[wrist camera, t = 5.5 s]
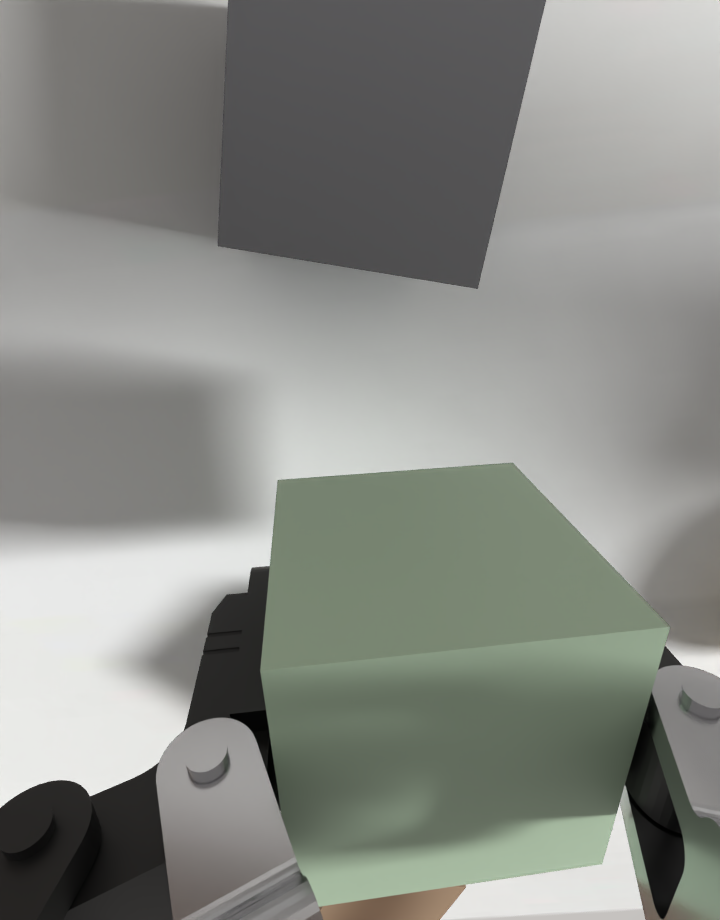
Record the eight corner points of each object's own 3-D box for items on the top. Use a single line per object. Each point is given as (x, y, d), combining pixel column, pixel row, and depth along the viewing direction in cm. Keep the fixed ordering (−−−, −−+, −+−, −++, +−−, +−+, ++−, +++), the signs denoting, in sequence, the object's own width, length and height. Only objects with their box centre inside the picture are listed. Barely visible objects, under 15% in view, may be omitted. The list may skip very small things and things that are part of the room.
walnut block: (432, 760, 23) (465, 887, 19) (387, 826, 25) (409, 957, 20) (333, 742, 22) (343, 874, 17) (293, 813, 24) (293, 950, 19)
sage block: (512, 462, 11) (670, 627, 6) (493, 641, 13) (602, 864, 8) (277, 480, 10) (260, 670, 6) (297, 662, 12) (295, 910, 8)
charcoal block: (459, 62, 12) (554, -38, 8) (419, 272, 14) (478, 288, 10) (257, 12, 12) (234, -132, 7) (243, 243, 14) (217, 245, 9)
